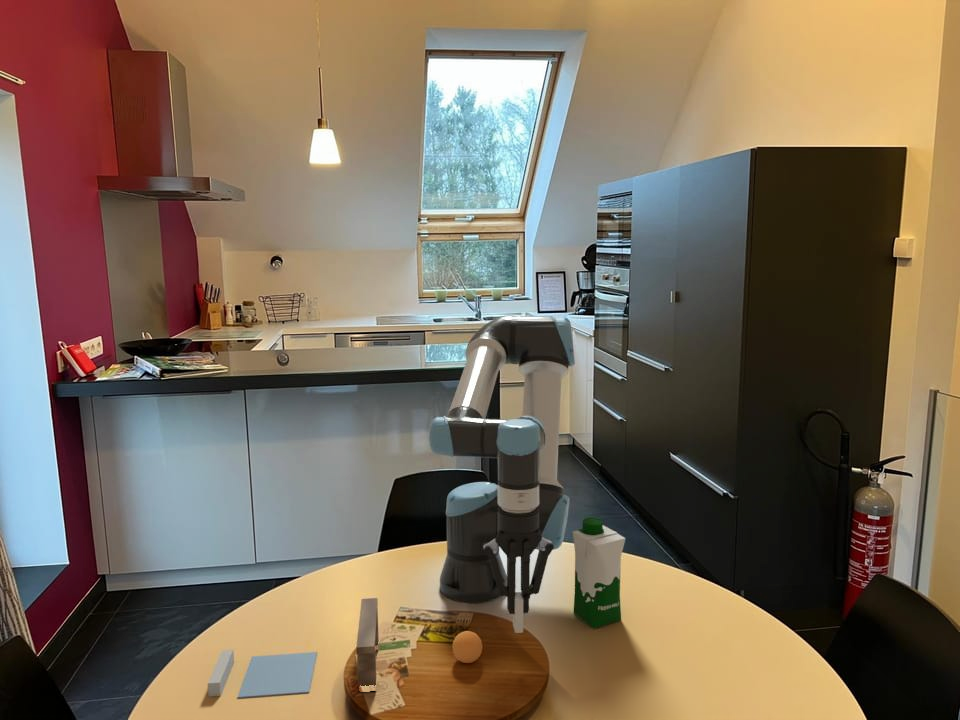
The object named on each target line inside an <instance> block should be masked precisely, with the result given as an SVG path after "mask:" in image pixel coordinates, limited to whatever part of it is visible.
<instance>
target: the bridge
mask: <svg viewBox="0 0 960 720" xmlns="http://www.w3.org/2000/svg"><path fill="white" fill-rule="evenodd" d="M378 600H379V599H378V597H373V598H371V597H370V598H361V601H360V609H359V619H358V620H359V622H358V629H357V636H356V637H357V639H356V645H355V647H356V659H357V661H356V662H357V683H358V686H360V685H361V686H365V685H366V686H369V685H374V686H375V685H376V679H377V656H376V652H377V651H375V646H377V645H378V642H379V641H380V640H379V616H378V615H379V613H378V604H379V602H378ZM379 643H380V642H379Z"/></svg>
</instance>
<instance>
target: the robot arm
mask: <svg viewBox="0 0 960 720" xmlns="http://www.w3.org/2000/svg"><path fill="white" fill-rule="evenodd" d="M465 360H466V362H465V365H464V368H463V370H462V373H461V376H460V379H459V382H458V385H457V387H456V391H455V392H454V393H455V394H454V397H453V398H452V399H453V400H452V402H451V405H450V408H449V410H448V413H447V416H446V415H443V416H436V417H435V418H433V419H432V420H431V423H430V428H429V438H428V440H429V448H430V449H431V450H430V451H431V452H432V453H433V454H434V455H437V456H438V455H439V456H446V457H447V456H448V457H451V458H453V457H454V458H455V457H456V458H457V457H461V458H468V457H469V458H487V459H488V458H489V459H497V484H496V483H494V482H493V483H492V482H489V481H475V482H470V483H465V484H461V485H459V486H457V487H456V488H454V489H452V490H451V491H450V492H449V493H448V495H447V498H446V509H445V515H446V522H445V523H446V550H447V551H446V557H445V560H444V563H443V567H442V569H441V572H440V576H439V589H440V592H441V593H442V595H444V596H445V597H447V598H448V599H450V600H452V601H456V602H460V603H468V604H477V603H486V602H490V601H493V600H496V599H499V598H500V597H505V598H506V599H507V600H506V601H507V602H506V603H507V604H506V606H507V607H506V608H507V611H508V615H512V627H513V631H514V633H515V634H521V633H524V614H528V613H529V611H530V599H531V596H532V595H537V594H539V593H540V589H541V586H542V582H543V578H544V574H545V569H546V566H547V562H548V559H549V556H550V554H551V553H552V551H554V550H558V549H559V548H560V547H561V546H562V545H563V542H564V539H565V534H566V528H567V524H568V518H569V517H568V516H569V509H570V497H569V496H568V495H566V494H564V487H563V486H562V485H561V483H559V481H558V460H559V441H560V440H559V438H560V415H561V393H562V392H561V391H562V380H563V378H564V377H566V376H567V375H568V374H569V367H573V366H574V365H575V364H576V362H575V351H574V341H573V331H572V324H571V321H570V319H569V318H567V317H565V316H553V315H549V316H548V315H547V316H540V315H539V316H537V315H533V316H529V315H528V316H527V315H524V316H523V315H505V316H500V317H497V318H494V319H493V320H490V321H489V322H487V323H485V324H484V325H483V326H481V327H480V328H479V329H478V330H477V331H476V332H475V333H474V334H473V336H472V337H471V338H470V340H469V341H468V344H467V346H466V348H465ZM505 365H518V371H519V372H520V374H521V375H522V376H523V377H524V384H523V397H522V399H523V400H522V412H521V413H522V414H521V415H522V416H519V417H516V418H513V419H503V418H502V419H501V418H486V417H487V413H488V410H489V407H490V402H491V399H492V395H493V392H494V389H495V388H494V387H495V385H496V382H497V378H498V374H499V371H500V370H502V368H503V367H504V366H505ZM500 550H502V552H503V553H504V554H505V555H506V570H505V567H504V564H503V560H502V558H501V555H500ZM535 550H538V554H537V558H536V561H535V565H534V569H533V573H532V577H531V579H530V573H531V571H530V566H531V565H530V563H531V555H532V554H533V552H534V551H535ZM519 557H520V591H518V592H516V573H517V572H516V564H517V558H519Z"/></svg>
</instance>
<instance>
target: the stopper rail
mask: <svg viewBox="0 0 960 720" xmlns="http://www.w3.org/2000/svg"><path fill="white" fill-rule="evenodd" d="M234 663H235V655H234V648H233V649H222V650H221V652H220V654H219V657H218V659H217V661H216V664H215V666H214V668H213V670H212V672H211V675H210V677H209V679H208V681H207V690H208V694H207V695H208V697H209V698H211V697H220V696H222V694H223V692H224V689H225V686H226V683H227V681H228V679H229V676H230V673H231V671H232V669H233V665H234Z"/></svg>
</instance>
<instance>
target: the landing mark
mask: <svg viewBox="0 0 960 720" xmlns="http://www.w3.org/2000/svg"><path fill="white" fill-rule="evenodd" d="M317 656H318V651H310V652H296V653H284V654H268V655H252V656H251V658H250V661H249V663H248V666H247V669H246V672H245V675H244V678H243V681H242V684H241V686H240V689H239V692H238V694H237V699H243V698H245V699H246V698H256V697H257V698H258V697H267V696H269V697H270V696H283V695H297V694H309V693H310V691H311V685H312V680H313V676H314V671H315V665H316V662H317Z"/></svg>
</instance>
